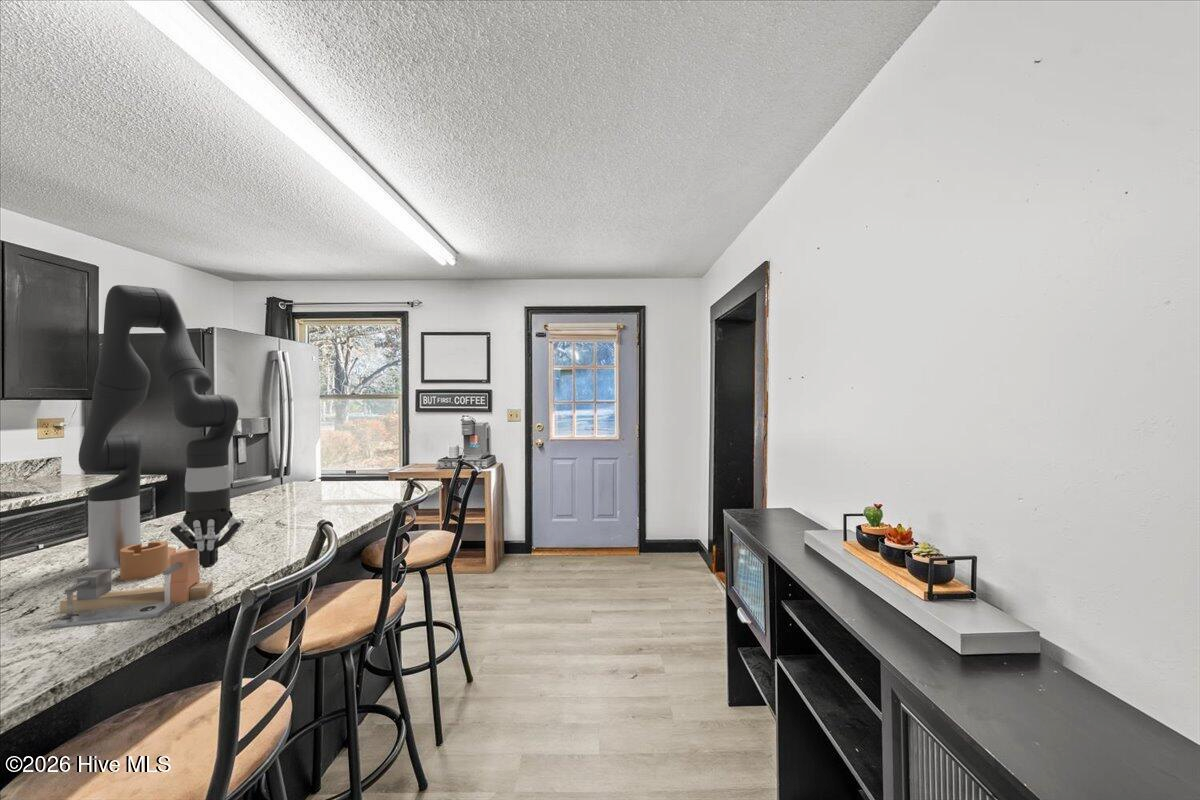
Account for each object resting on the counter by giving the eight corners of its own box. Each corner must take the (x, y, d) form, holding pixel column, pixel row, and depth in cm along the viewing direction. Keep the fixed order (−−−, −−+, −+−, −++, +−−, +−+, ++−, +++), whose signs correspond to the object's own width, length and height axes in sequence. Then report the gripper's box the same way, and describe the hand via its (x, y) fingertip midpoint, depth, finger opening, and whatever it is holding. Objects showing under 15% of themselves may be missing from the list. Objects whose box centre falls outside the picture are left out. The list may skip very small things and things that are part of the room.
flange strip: (73, 616, 93) (73, 610, 93) (174, 605, 97) (174, 600, 97) (48, 630, 87) (48, 624, 87) (157, 618, 92) (157, 613, 92)
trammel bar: (74, 605, 97) (74, 571, 97) (214, 591, 104) (214, 560, 104) (37, 626, 88) (37, 589, 88) (192, 609, 95) (192, 575, 95)
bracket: (163, 576, 113) (163, 548, 113) (115, 584, 109) (115, 554, 109) (178, 555, 128) (178, 530, 128) (136, 561, 124) (136, 535, 124)
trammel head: (182, 593, 103) (182, 548, 103) (199, 591, 104) (199, 547, 104) (156, 612, 94) (156, 563, 94) (175, 610, 95) (175, 561, 95)
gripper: (251, 482, 108) (251, 557, 108) (180, 485, 104) (180, 563, 104) (237, 488, 100) (237, 569, 101) (160, 492, 96) (160, 576, 97)
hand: (208, 566), depth 102 cm, fingers closed
